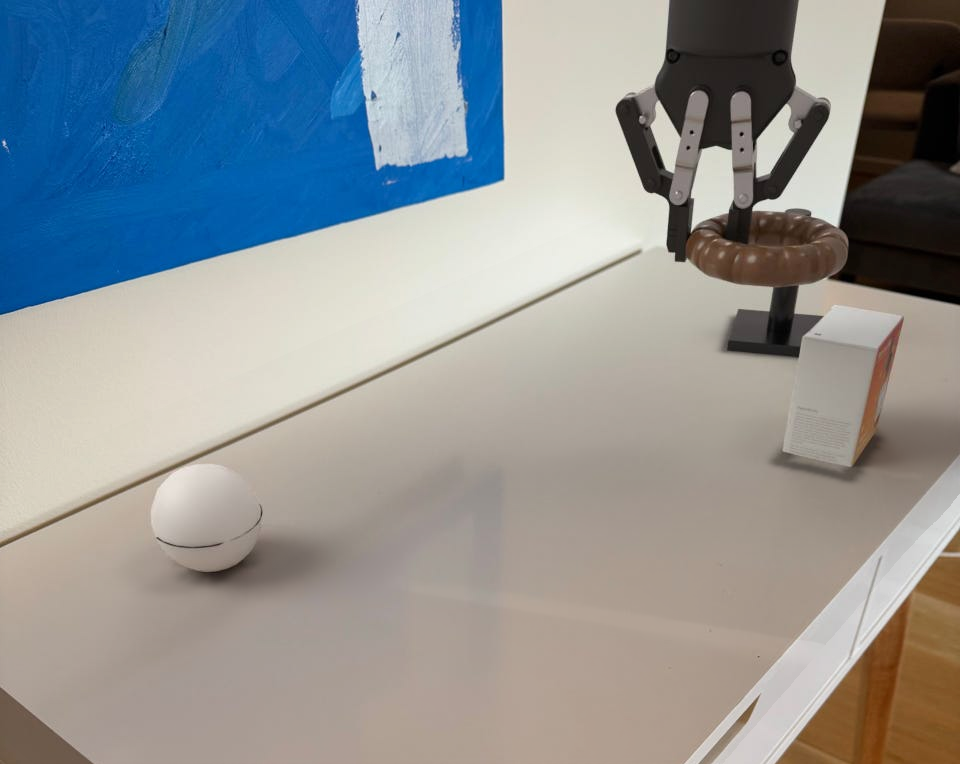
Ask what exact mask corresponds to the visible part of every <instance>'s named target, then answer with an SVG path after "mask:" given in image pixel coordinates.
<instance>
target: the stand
mask: <svg viewBox="0 0 960 764" xmlns="http://www.w3.org/2000/svg"><path fill="white" fill-rule="evenodd" d="M784 212H790V213H796V214H800V215H805V216H809V217H812V211H811V210H809V209H805V208H798V207H797V208H796V207H795V208H788V209H785V210H784ZM799 289H800V285H795V286H786V287H772V292H771V299H770V305H769V311H768V310H758V309H745V308H738V309H737V310H736V311H737V313H736V314H735V318H734V320H733V321H734V322H733V325H732V327H731V330H730V333H729V337H728V340H727V346H726V351H727V352H728V351H729V352H736V353H737V352H738V353H750V354H759V355H771V356H781V357H790V358H791V357H792V358H799V354H800V349H801V343H802V337H803V336H804V335H805V334H806V333H808V332H809V331H810V330H811V329H812V328H813V327H814V326H815V325H816V324H817V323H818V322H819V321H820V320H821V319H822V318H823V317H824V316H825V315H817V314H807V313H806V314H805V313H795V312H796V306H797V301H798V295H799Z"/></svg>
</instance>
